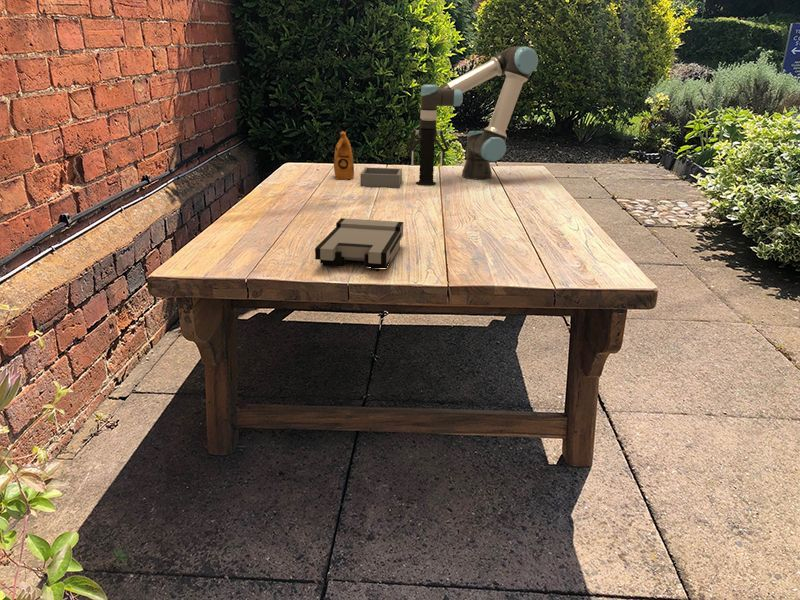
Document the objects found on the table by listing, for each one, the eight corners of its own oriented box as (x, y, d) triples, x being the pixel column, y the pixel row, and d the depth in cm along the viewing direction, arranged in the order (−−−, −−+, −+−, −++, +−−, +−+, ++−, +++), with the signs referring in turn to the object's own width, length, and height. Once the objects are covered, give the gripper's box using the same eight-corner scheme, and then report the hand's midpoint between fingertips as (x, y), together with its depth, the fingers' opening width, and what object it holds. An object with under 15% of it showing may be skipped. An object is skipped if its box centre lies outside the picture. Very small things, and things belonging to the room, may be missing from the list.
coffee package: (332, 180, 328) (332, 133, 320) (334, 175, 340) (333, 130, 332) (353, 180, 328) (353, 134, 321) (354, 175, 340) (354, 131, 332)
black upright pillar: (430, 181, 330) (412, 182, 326) (432, 125, 321) (413, 126, 317) (440, 185, 322) (421, 186, 318) (442, 128, 313) (423, 128, 309)
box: (401, 181, 329) (402, 168, 327) (399, 188, 313) (399, 175, 311) (365, 179, 331) (365, 167, 328) (360, 186, 314) (360, 173, 312)
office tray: (315, 271, 196) (315, 244, 193) (341, 242, 226) (341, 218, 223) (386, 276, 193) (386, 248, 190) (402, 246, 223) (403, 221, 220)
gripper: (455, 119, 316) (453, 165, 324) (402, 117, 318) (401, 163, 325) (455, 121, 309) (452, 167, 317) (400, 119, 311) (399, 165, 318)
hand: (426, 165), depth 321 cm, fingers open, 13 cm apart
